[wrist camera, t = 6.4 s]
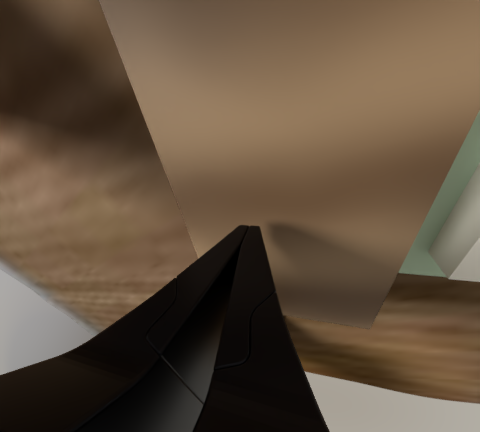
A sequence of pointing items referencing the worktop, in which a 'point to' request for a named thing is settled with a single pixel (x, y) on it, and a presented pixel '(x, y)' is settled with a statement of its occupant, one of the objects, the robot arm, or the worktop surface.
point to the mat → (444, 205)
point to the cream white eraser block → (461, 236)
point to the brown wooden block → (306, 128)
